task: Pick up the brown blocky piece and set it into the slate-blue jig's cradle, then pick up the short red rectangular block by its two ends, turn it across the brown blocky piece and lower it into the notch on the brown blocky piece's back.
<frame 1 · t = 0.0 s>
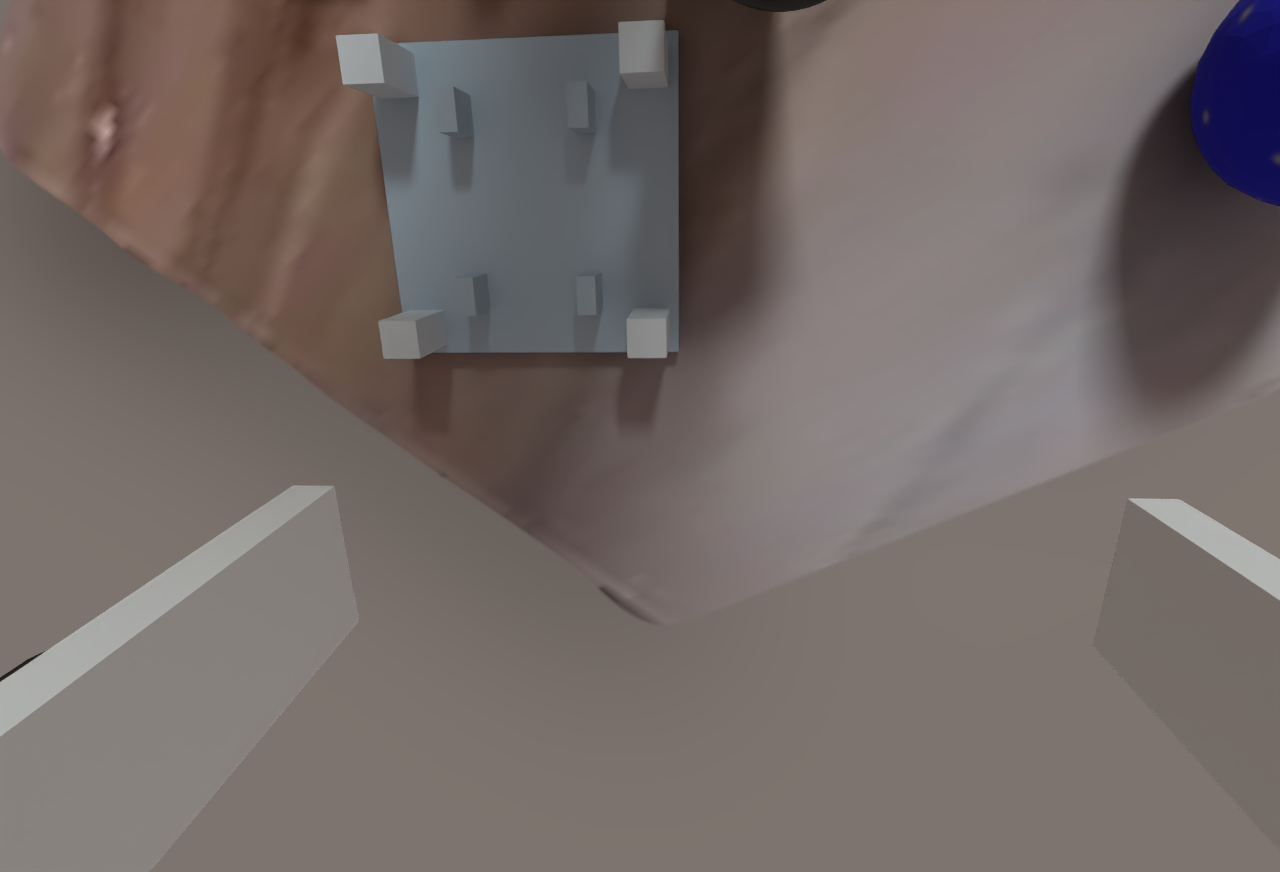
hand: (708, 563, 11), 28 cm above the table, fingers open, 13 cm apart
ornament: (1243, 95, 32), on the table
jig: (534, 206, 36), on the table
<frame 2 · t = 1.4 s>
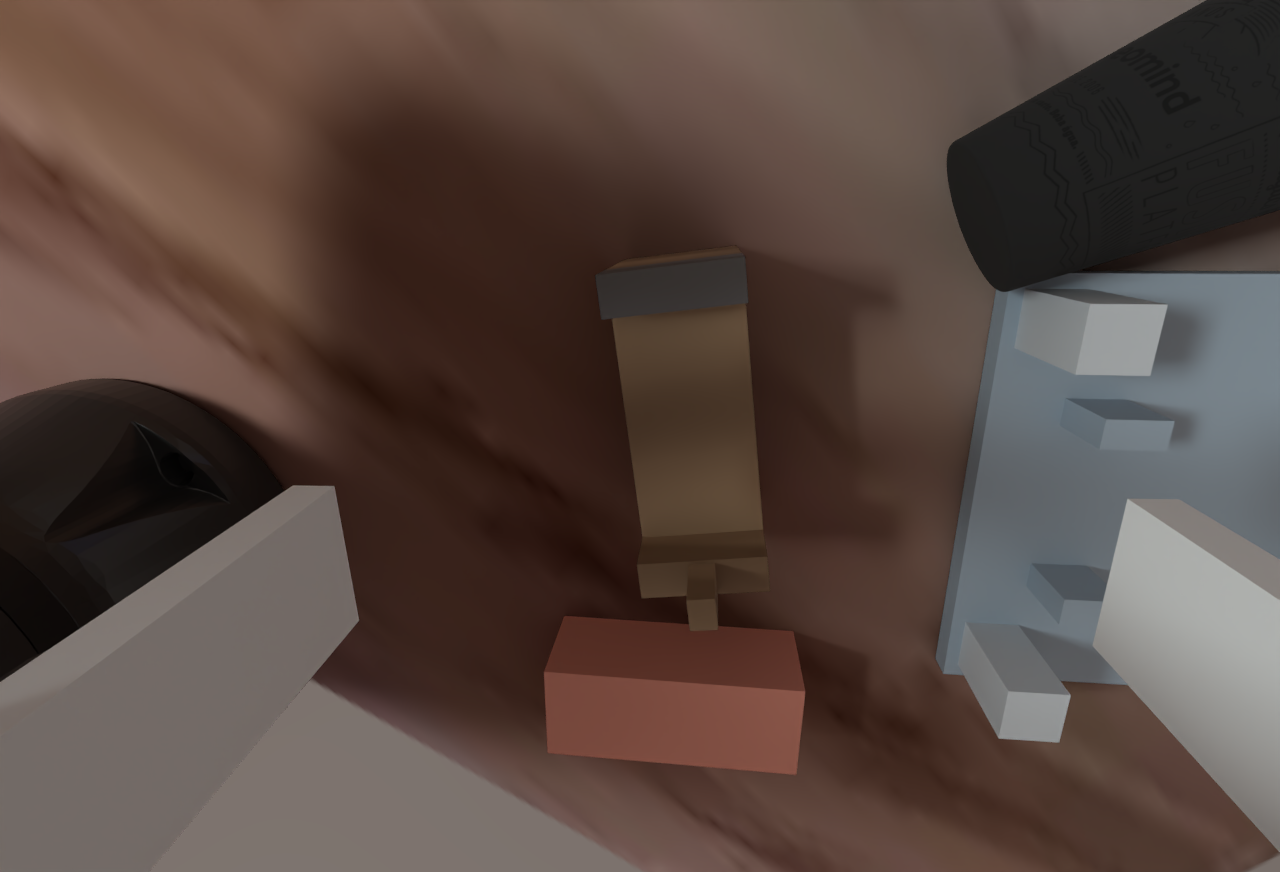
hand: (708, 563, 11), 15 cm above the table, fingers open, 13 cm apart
red rectangular block: (676, 658, 29), on the table
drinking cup: (969, 221, 20), point 2 cm above the table
jig: (1187, 491, 24), on the table
brown blocky piece: (694, 385, 25), on the table
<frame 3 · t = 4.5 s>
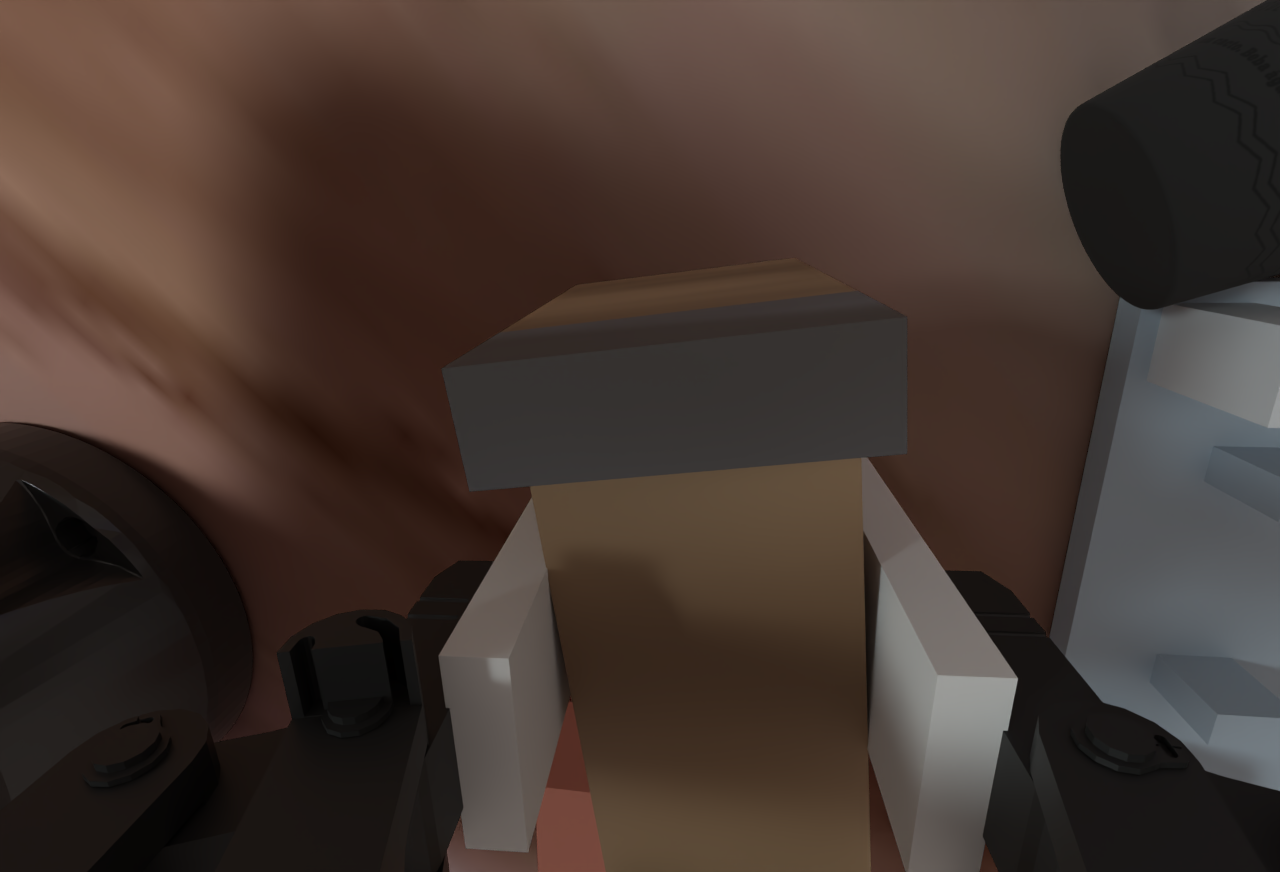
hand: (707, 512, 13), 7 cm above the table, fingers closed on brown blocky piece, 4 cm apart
red rectangular block: (698, 755, 24), on the table
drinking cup: (1100, 214, 15), point 2 cm above the table
brown blocky piece: (709, 517, 14), point 7 cm above the table, touching gripper
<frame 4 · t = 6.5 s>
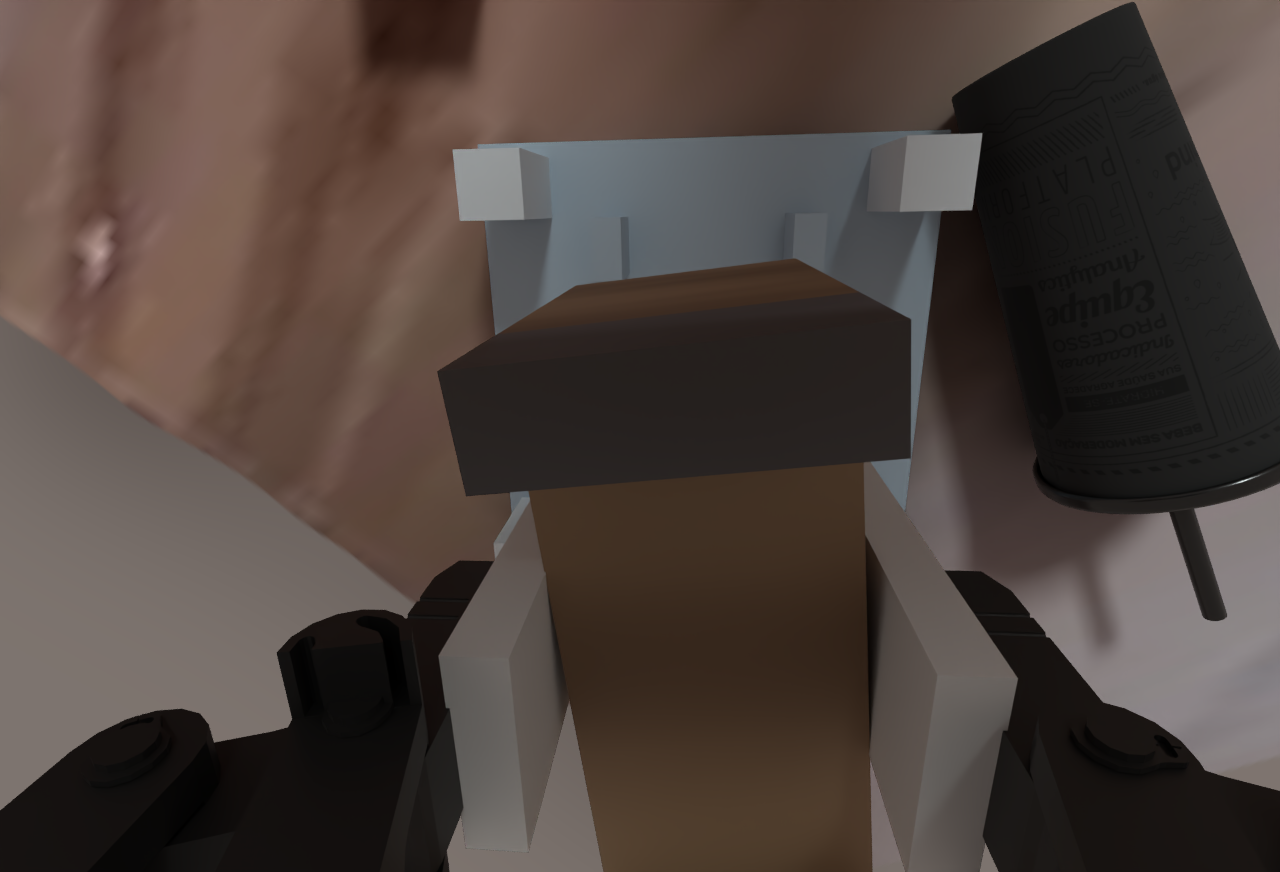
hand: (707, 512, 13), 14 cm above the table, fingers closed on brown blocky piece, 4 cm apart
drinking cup: (1034, 46, 20), point 2 cm above the table
jig: (704, 362, 26), on the table
brown blocky piece: (709, 520, 13), point 13 cm above the table, touching gripper
when the fingers open (2 cm above the table, at t = 8.6 s): brown blocky piece stays where it is, resting on jig.
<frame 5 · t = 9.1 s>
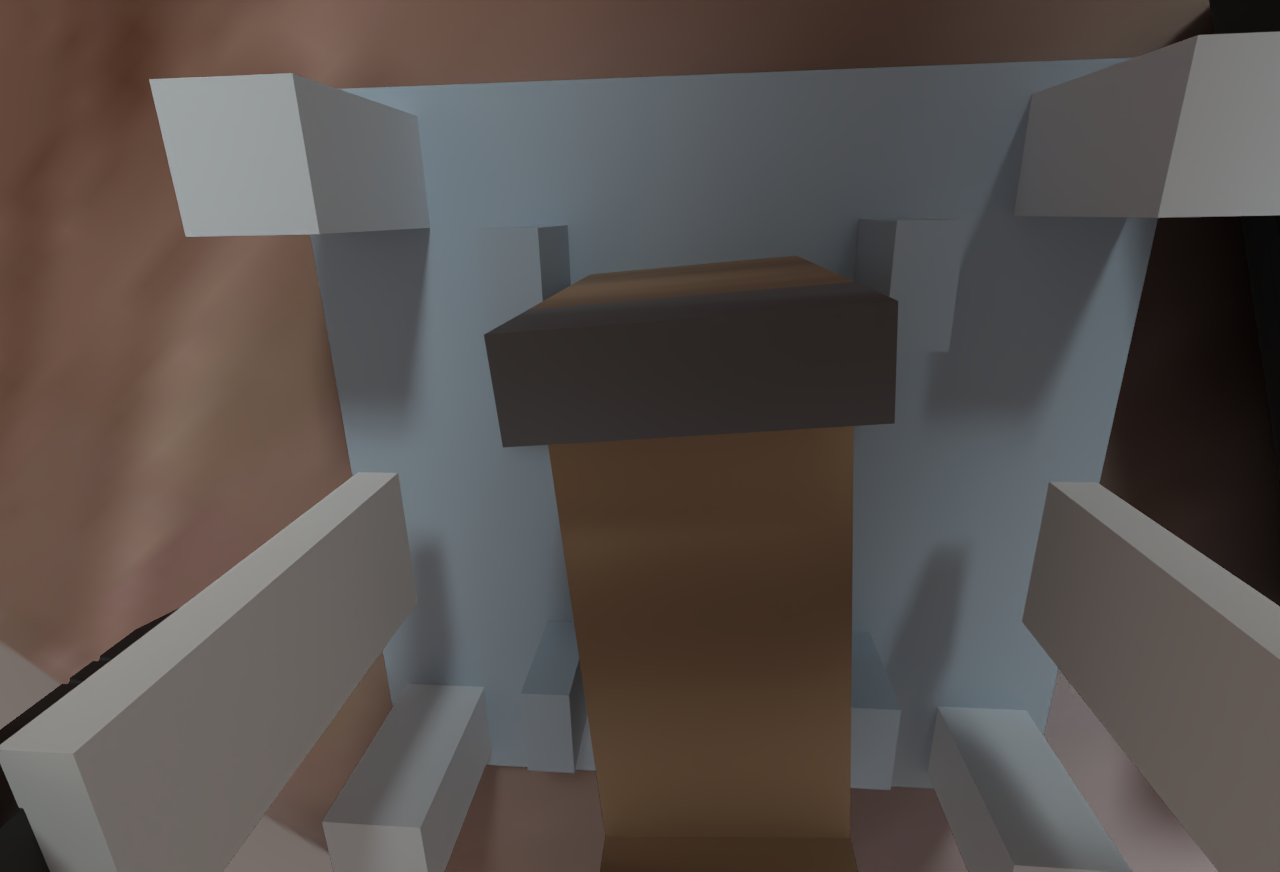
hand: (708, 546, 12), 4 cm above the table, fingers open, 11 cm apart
jig: (706, 471, 15), on the table
brown blocky piece: (707, 500, 14), point 1 cm above the table, touching jig
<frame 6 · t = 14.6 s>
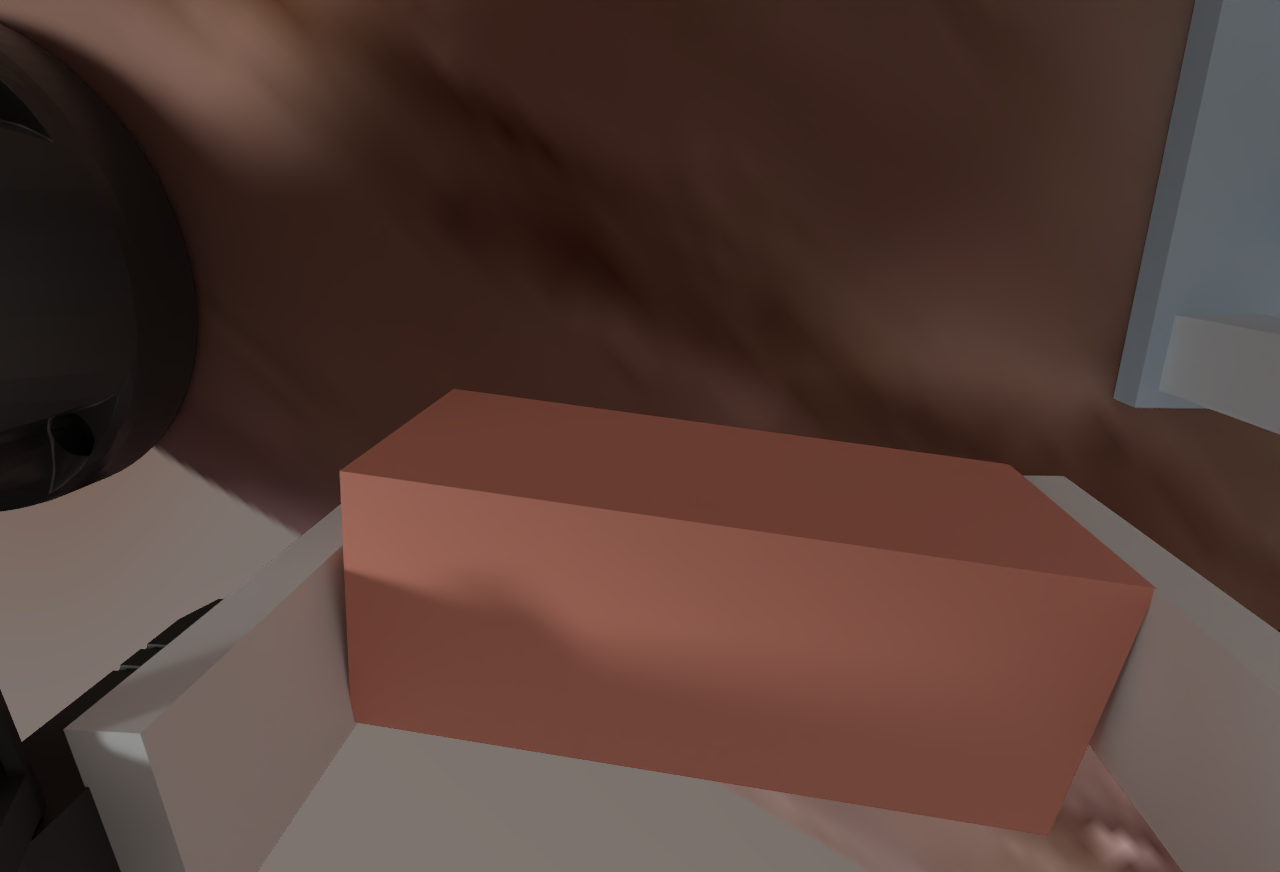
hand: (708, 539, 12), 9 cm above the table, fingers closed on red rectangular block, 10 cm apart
red rectangular block: (709, 524, 12), point 8 cm above the table, touching gripper
when the fingers open (8 cm above the table, at t = 19.4 s): red rectangular block drops 2 cm, resting on brown blocky piece.
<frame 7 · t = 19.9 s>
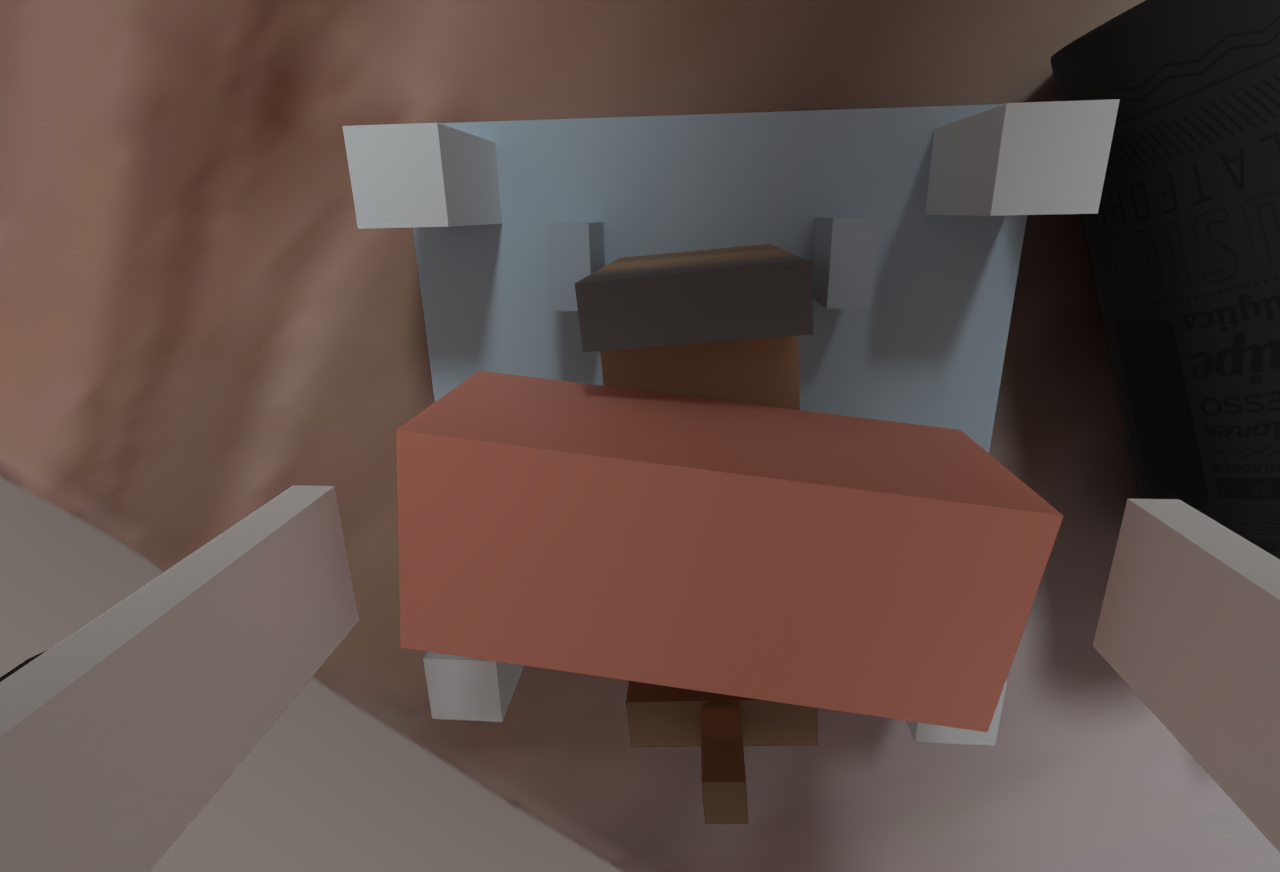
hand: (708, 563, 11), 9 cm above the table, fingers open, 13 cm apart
red rectangular block: (702, 487, 14), point 6 cm above the table, touching brown blocky piece
jig: (704, 410, 20), on the table
brown blocky piece: (705, 428, 19), point 1 cm above the table, touching jig, red rectangular block
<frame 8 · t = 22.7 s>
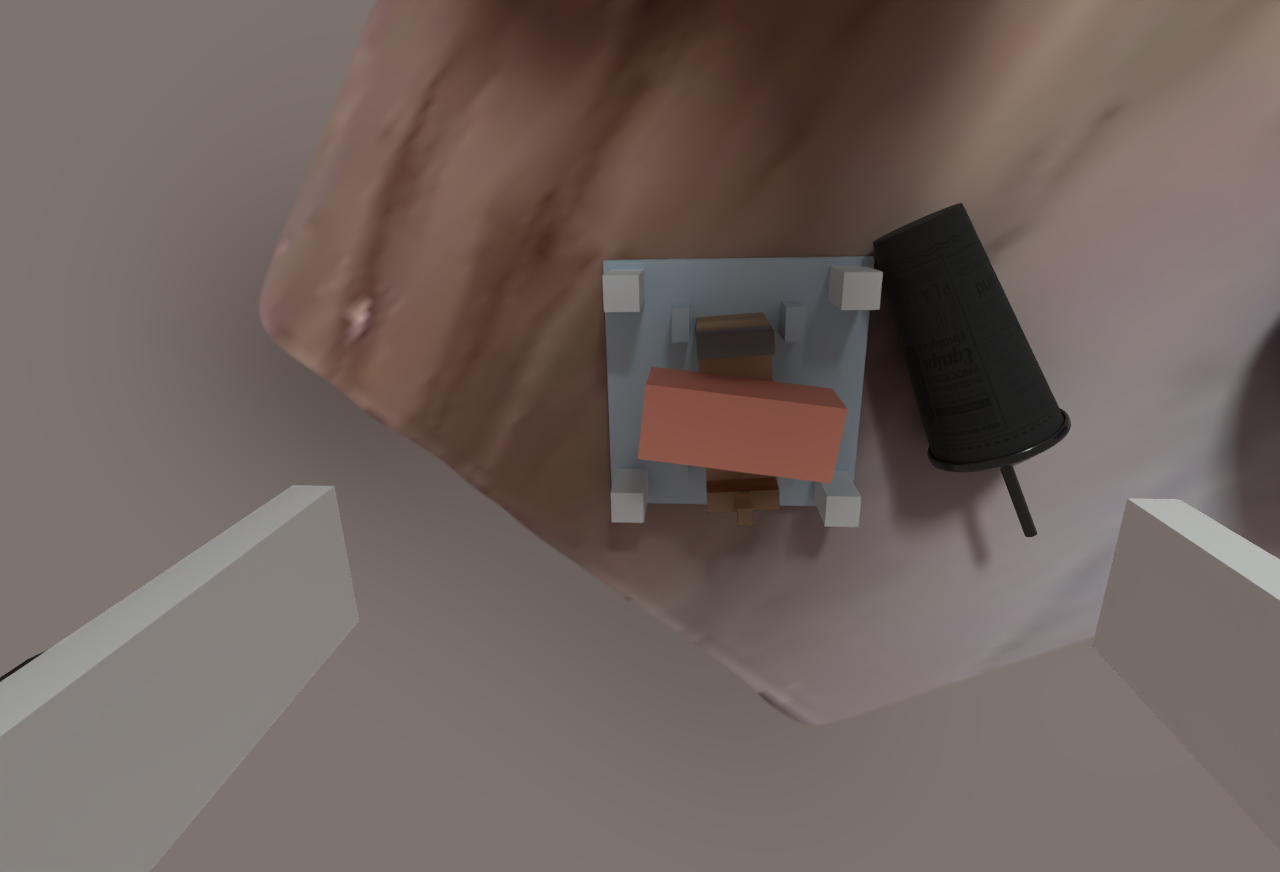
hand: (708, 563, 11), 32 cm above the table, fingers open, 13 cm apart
red rectangular block: (735, 411, 37), point 6 cm above the table, touching brown blocky piece
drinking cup: (914, 219, 36), point 2 cm above the table
jig: (732, 385, 43), on the table
brown blocky piece: (733, 393, 42), point 1 cm above the table, touching jig, red rectangular block
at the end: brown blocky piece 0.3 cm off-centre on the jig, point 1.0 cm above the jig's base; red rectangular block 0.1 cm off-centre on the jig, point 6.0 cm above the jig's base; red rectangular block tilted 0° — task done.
